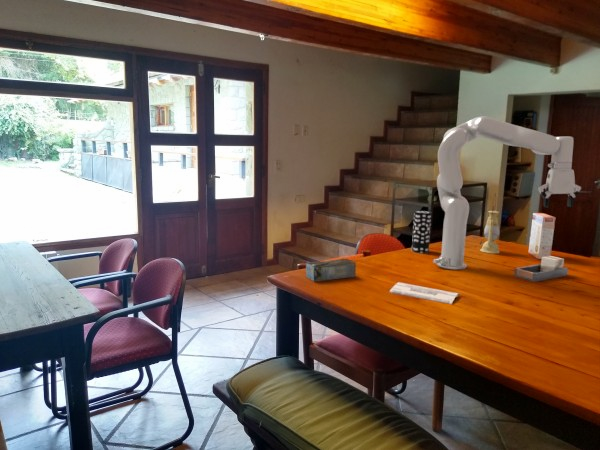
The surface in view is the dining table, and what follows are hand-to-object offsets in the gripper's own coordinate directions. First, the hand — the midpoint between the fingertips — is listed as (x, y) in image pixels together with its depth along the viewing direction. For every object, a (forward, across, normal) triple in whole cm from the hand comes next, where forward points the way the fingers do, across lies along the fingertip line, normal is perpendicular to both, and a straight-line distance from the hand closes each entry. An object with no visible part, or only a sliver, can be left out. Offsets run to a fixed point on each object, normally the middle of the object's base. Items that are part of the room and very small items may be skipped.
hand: (558, 207), depth 193 cm
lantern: (+28, -14, +35) cm, 47 cm away
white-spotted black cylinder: (+26, -50, +31) cm, 65 cm away
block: (+28, -3, -5) cm, 28 cm away
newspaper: (+26, -65, -36) cm, 79 cm away
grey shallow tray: (+28, -9, -8) cm, 30 cm away
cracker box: (+28, +7, +27) cm, 40 cm away
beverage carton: (+24, -97, -19) cm, 102 cm away
